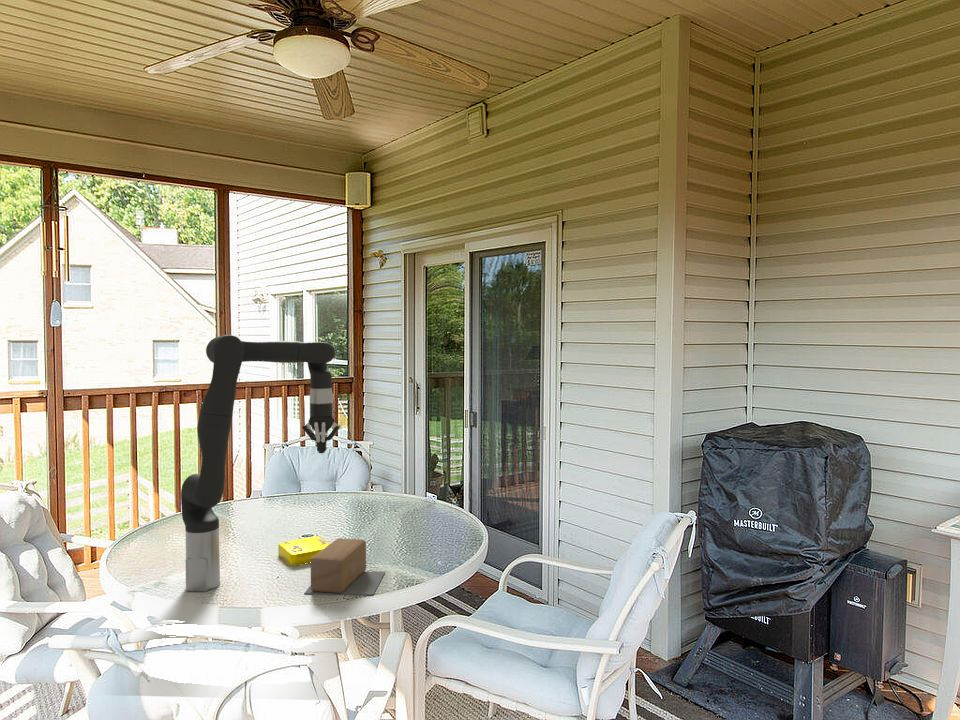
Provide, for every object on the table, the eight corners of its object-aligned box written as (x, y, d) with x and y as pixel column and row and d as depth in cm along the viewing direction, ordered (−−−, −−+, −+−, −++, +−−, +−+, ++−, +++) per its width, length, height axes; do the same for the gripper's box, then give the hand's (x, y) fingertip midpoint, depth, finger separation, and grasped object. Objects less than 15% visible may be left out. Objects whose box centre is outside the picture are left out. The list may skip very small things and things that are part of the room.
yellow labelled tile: (335, 559, 221) (335, 545, 221) (291, 568, 212) (290, 553, 212) (319, 547, 233) (319, 534, 233) (276, 555, 225) (276, 541, 225)
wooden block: (367, 570, 208) (342, 594, 189) (337, 568, 210) (309, 592, 191) (366, 538, 208) (341, 560, 188) (337, 537, 210) (309, 557, 190)
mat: (373, 595, 189) (373, 594, 189) (304, 594, 190) (304, 593, 190) (384, 572, 207) (384, 571, 207) (322, 571, 208) (322, 570, 208)
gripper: (298, 402, 218) (298, 454, 218) (337, 402, 217) (338, 455, 218) (305, 400, 225) (305, 450, 226) (343, 400, 224) (344, 451, 225)
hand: (321, 452), depth 222 cm, fingers closed
